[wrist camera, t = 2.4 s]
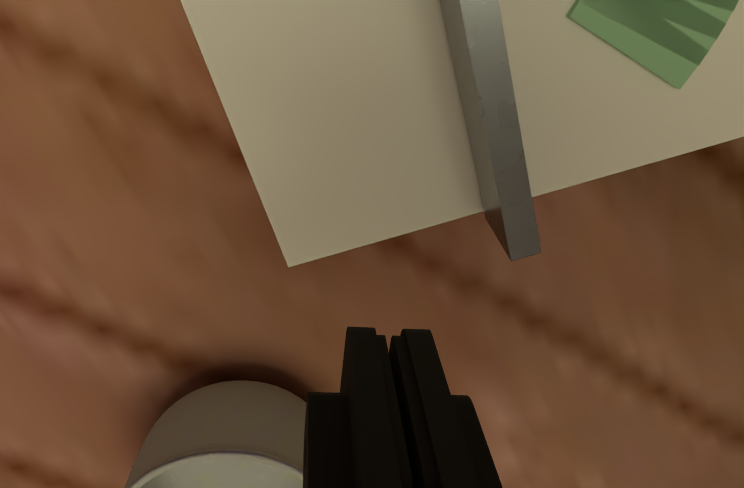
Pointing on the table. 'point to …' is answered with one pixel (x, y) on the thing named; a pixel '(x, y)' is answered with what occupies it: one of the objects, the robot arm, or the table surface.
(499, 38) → the grey rectangular bar
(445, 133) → the dial board
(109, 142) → the table surface
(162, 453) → the teacup
